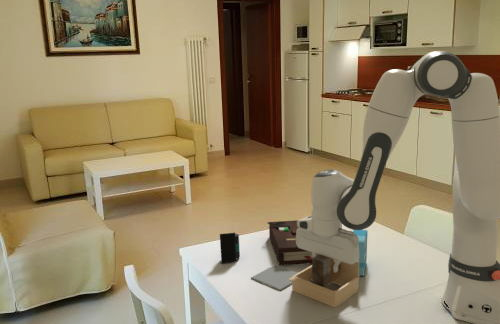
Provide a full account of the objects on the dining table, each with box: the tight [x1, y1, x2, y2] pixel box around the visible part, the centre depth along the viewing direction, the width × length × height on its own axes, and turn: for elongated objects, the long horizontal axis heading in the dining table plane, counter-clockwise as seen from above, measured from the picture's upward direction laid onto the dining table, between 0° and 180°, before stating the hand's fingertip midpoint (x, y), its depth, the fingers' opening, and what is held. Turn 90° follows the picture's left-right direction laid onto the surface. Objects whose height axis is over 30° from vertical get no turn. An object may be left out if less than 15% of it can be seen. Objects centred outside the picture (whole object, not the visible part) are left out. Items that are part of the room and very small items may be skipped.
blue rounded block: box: [352, 229, 368, 277], centre depth 151 cm, size 12×4×12 cm, turn 162°
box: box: [311, 255, 341, 288], centre depth 137 cm, size 4×9×8 cm, turn 137°
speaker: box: [219, 232, 241, 265], centre depth 161 cm, size 8×6×10 cm
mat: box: [250, 264, 298, 292], centre depth 147 cm, size 12×12×1 cm
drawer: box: [289, 254, 360, 308], centre depth 137 cm, size 15×15×10 cm
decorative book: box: [266, 219, 313, 267], centre depth 168 cm, size 19×8×30 cm
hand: (326, 268), depth 137 cm, fingers closed on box, 4 cm apart
